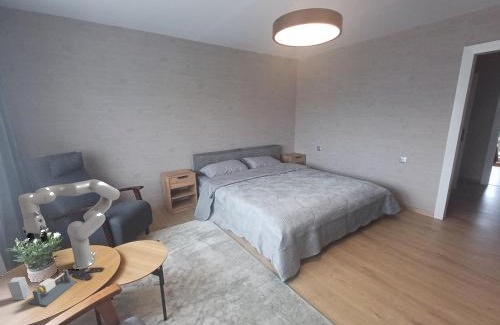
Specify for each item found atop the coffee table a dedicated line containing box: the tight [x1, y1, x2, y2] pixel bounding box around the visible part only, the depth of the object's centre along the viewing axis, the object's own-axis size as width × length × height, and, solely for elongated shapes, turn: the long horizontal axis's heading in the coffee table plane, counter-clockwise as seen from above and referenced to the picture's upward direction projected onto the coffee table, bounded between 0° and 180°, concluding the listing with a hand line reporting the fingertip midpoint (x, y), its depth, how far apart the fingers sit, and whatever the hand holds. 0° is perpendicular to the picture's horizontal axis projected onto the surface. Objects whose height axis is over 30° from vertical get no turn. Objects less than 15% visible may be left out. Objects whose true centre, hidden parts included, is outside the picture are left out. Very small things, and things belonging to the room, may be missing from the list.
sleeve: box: [38, 277, 56, 293], centre depth 127 cm, size 5×4×4 cm
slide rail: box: [27, 269, 78, 307], centre depth 130 cm, size 18×12×8 cm, turn 171°
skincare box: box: [6, 276, 31, 301], centre depth 126 cm, size 6×4×12 cm
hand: (38, 240), depth 133 cm, fingers open, 9 cm apart
